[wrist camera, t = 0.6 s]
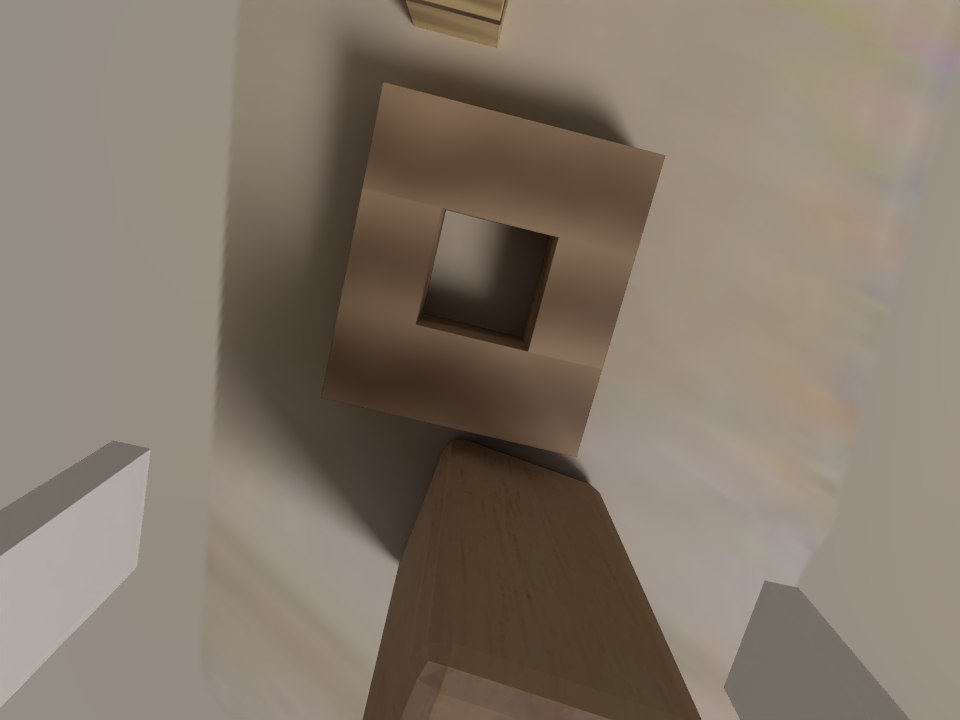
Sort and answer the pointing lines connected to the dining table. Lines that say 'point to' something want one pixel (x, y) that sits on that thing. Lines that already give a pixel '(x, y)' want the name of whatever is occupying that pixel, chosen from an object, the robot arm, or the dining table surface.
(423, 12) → the peg
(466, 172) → the board
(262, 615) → the dining table surface
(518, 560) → the block
